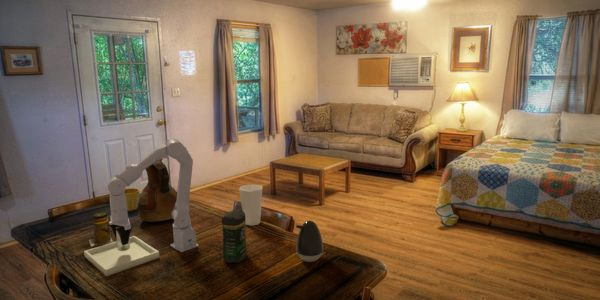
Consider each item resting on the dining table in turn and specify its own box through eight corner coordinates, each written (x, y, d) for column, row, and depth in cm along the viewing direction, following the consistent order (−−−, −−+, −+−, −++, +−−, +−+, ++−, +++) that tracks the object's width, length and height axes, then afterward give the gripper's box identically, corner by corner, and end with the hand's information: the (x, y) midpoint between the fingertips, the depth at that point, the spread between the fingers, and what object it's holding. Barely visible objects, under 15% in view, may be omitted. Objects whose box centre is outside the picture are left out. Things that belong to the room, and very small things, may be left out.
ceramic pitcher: (165, 209, 215) (160, 152, 209) (191, 217, 203) (186, 157, 197) (131, 221, 199) (124, 160, 193) (156, 230, 188) (150, 165, 182)
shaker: (133, 248, 162) (131, 226, 161) (121, 252, 159) (119, 229, 157) (126, 245, 165) (124, 223, 164) (114, 248, 161) (113, 226, 160)
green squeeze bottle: (239, 265, 154) (237, 217, 150) (220, 262, 156) (217, 215, 152) (250, 254, 163) (248, 208, 159) (232, 251, 165) (229, 207, 161)
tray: (159, 257, 161) (158, 251, 161) (106, 276, 147) (105, 269, 147) (135, 241, 176) (134, 235, 176) (84, 257, 163) (84, 251, 162)
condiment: (113, 241, 176) (110, 215, 174) (91, 246, 172) (87, 219, 169) (110, 236, 182) (107, 210, 180) (88, 240, 178) (85, 214, 175)
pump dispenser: (291, 255, 161) (291, 218, 158) (316, 251, 165) (316, 214, 161) (301, 267, 152) (301, 228, 148) (327, 262, 155) (327, 223, 152)
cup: (268, 221, 196) (267, 186, 193) (255, 228, 188) (253, 192, 184) (250, 217, 202) (248, 183, 199) (236, 224, 194) (234, 188, 190)
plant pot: (144, 208, 217) (142, 190, 215) (125, 213, 209) (123, 195, 207) (135, 204, 224) (133, 186, 222) (116, 209, 216) (114, 191, 214)
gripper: (100, 207, 161) (104, 240, 163) (115, 216, 151) (119, 251, 153) (119, 202, 166) (122, 234, 168) (134, 211, 155) (138, 245, 158)
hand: (122, 242), depth 161 cm, fingers closed on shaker, 5 cm apart
